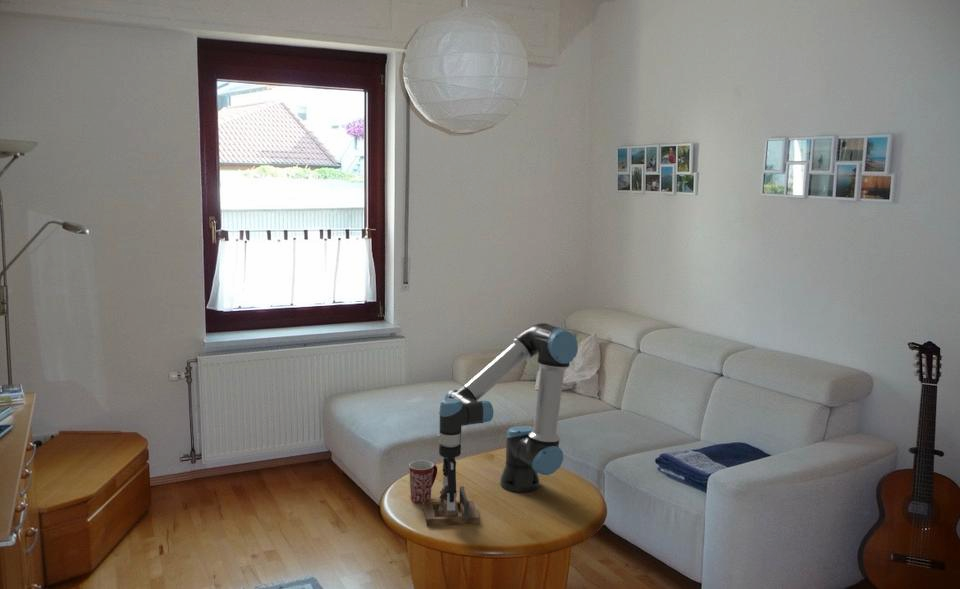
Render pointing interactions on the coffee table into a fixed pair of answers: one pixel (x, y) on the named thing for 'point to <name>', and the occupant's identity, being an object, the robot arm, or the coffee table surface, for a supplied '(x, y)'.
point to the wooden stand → (467, 516)
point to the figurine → (443, 504)
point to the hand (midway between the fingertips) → (448, 501)
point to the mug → (421, 480)
